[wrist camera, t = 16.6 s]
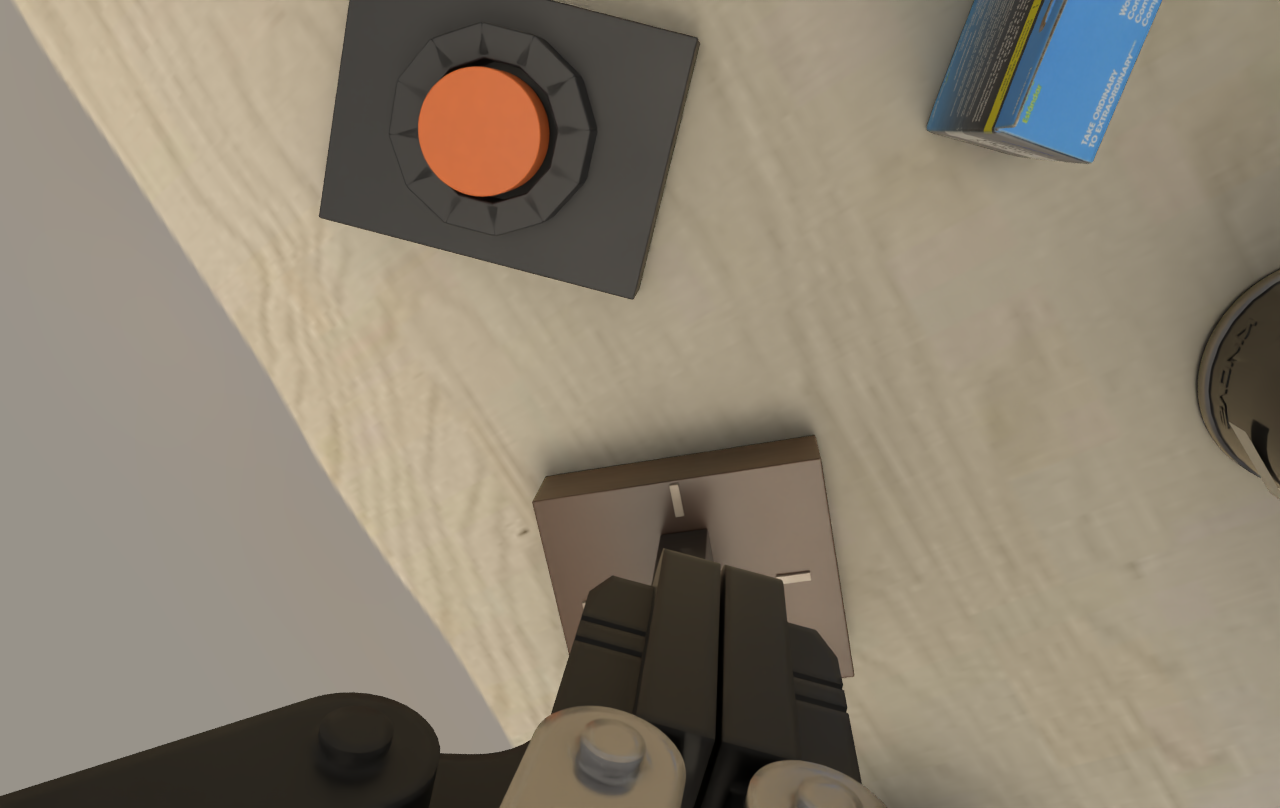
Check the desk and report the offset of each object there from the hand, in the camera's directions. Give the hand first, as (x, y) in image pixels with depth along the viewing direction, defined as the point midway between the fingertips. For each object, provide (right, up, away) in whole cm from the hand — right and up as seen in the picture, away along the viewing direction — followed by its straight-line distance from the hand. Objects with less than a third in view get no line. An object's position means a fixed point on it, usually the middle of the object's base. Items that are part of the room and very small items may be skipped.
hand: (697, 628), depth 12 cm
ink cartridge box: (+13, +17, +24) cm, 32 cm away
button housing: (-6, +14, +27) cm, 31 cm away
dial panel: (+2, -4, +31) cm, 32 cm away
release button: (-6, +13, +23) cm, 27 cm away
